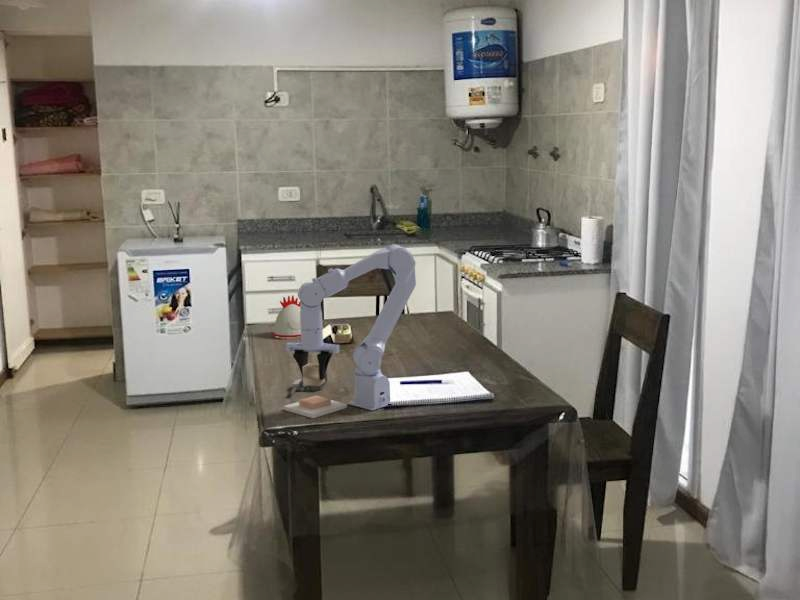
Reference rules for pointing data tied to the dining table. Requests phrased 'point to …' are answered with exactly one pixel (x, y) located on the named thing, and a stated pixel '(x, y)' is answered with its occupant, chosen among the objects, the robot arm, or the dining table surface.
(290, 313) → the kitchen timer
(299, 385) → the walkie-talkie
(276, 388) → the dining table surface
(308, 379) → the birch block
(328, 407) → the base plate
